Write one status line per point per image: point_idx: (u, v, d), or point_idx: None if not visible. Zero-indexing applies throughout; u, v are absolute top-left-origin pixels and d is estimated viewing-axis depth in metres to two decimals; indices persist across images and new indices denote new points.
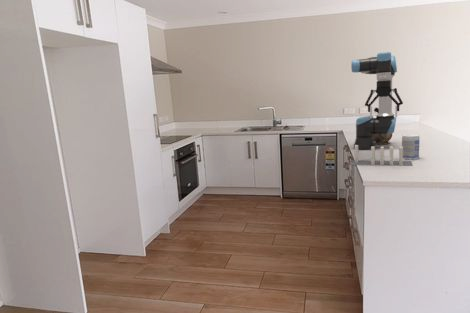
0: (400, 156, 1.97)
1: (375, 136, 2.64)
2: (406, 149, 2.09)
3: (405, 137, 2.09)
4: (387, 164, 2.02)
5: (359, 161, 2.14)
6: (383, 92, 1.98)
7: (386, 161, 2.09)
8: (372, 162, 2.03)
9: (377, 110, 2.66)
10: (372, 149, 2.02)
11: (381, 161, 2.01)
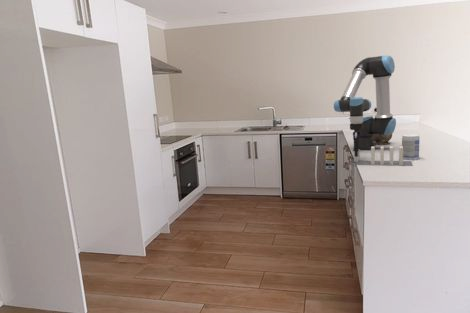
0: (400, 156, 1.97)
1: (375, 136, 2.64)
2: (406, 149, 2.09)
3: (405, 137, 2.09)
4: (387, 164, 2.02)
5: (359, 161, 2.14)
6: None
7: (386, 161, 2.09)
8: (372, 162, 2.03)
9: None
10: (372, 149, 2.02)
11: (381, 161, 2.01)
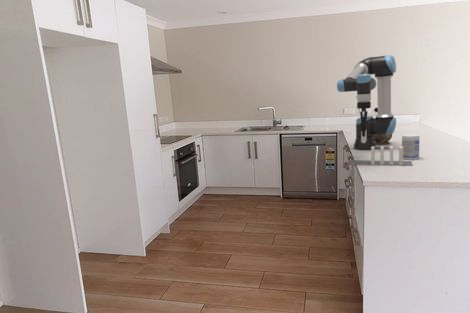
0: (400, 156, 1.97)
1: (375, 136, 2.64)
2: (406, 149, 2.09)
3: (405, 137, 2.09)
4: (387, 164, 2.02)
5: (359, 161, 2.14)
6: (361, 113, 2.02)
7: (386, 161, 2.09)
8: (372, 162, 2.03)
9: (377, 110, 2.66)
10: (372, 149, 2.02)
11: (381, 161, 2.01)
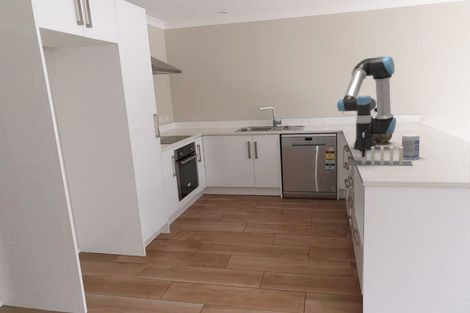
0: (400, 156, 1.97)
1: (375, 136, 2.64)
2: (406, 149, 2.09)
3: (405, 137, 2.09)
4: (387, 164, 2.02)
5: (359, 161, 2.14)
6: (361, 134, 2.05)
7: (386, 161, 2.09)
8: (372, 162, 2.03)
9: None
10: (372, 149, 2.02)
11: (381, 161, 2.01)
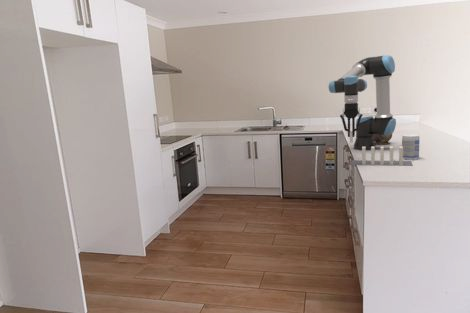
0: (400, 156, 1.97)
1: (375, 136, 2.64)
2: (406, 149, 2.09)
3: (405, 137, 2.09)
4: (387, 164, 2.02)
5: (359, 161, 2.14)
6: (351, 114, 2.04)
7: (386, 161, 2.09)
8: (372, 162, 2.03)
9: None
10: (372, 149, 2.02)
11: (381, 161, 2.01)
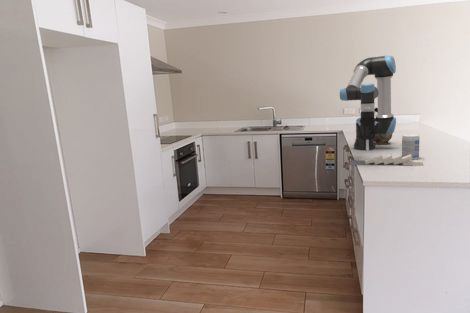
0: (413, 163, 1.95)
1: (375, 136, 2.64)
2: (406, 149, 2.09)
3: (405, 137, 2.09)
4: (387, 164, 2.02)
5: (359, 161, 2.14)
6: (367, 122, 2.01)
7: None
8: (376, 162, 2.02)
9: (377, 110, 2.66)
10: (390, 157, 1.99)
11: (387, 161, 2.00)
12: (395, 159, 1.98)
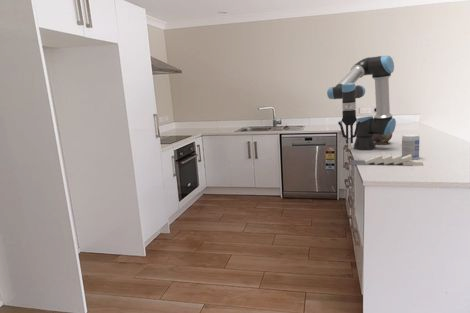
0: (413, 163, 1.95)
1: (375, 136, 2.64)
2: (406, 149, 2.09)
3: (405, 137, 2.09)
4: (387, 164, 2.02)
5: (359, 161, 2.14)
6: (349, 121, 2.06)
7: None
8: (376, 162, 2.02)
9: None
10: (390, 157, 1.99)
11: (387, 161, 2.00)
12: (395, 159, 1.98)
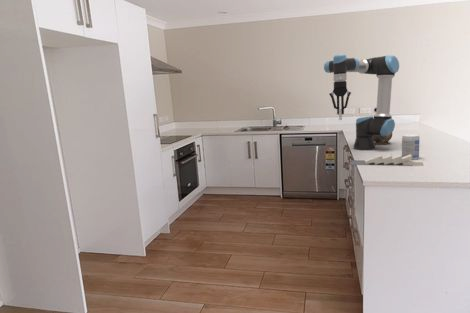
0: (413, 163, 1.95)
1: (375, 136, 2.64)
2: (406, 149, 2.09)
3: (405, 137, 2.09)
4: (387, 164, 2.02)
5: (359, 161, 2.14)
6: (340, 92, 2.11)
7: None
8: (376, 162, 2.02)
9: None
10: (390, 157, 1.99)
11: (387, 161, 2.00)
12: (395, 159, 1.98)
